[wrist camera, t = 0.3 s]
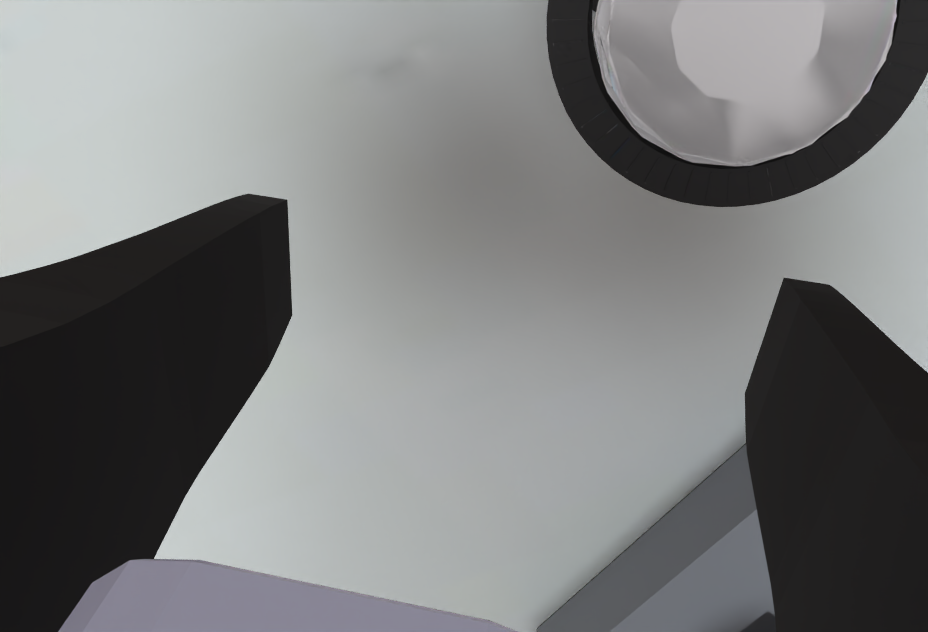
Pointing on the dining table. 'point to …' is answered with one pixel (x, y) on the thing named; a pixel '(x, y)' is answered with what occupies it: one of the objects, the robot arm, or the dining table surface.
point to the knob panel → (685, 569)
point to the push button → (735, 88)
